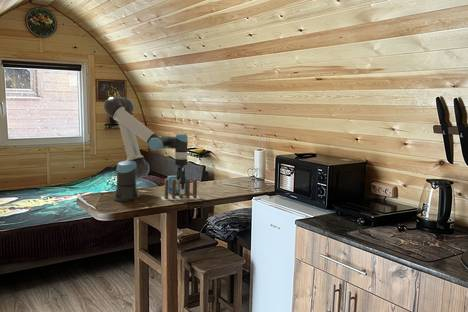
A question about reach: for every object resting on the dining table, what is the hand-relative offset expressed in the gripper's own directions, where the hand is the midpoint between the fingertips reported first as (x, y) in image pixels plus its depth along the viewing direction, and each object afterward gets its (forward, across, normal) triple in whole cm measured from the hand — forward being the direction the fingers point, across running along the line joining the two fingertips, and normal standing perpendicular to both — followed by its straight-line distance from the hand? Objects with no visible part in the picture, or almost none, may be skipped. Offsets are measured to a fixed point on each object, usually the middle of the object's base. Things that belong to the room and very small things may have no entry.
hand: (180, 192), depth 267 cm
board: (+5, 0, 0) cm, 5 cm away
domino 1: (+4, 0, +9) cm, 10 cm away
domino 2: (+4, 0, +4) cm, 6 cm away
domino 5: (+4, 0, -9) cm, 10 cm away
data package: (+5, +18, 0) cm, 19 cm away
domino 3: (+4, 0, 0) cm, 4 cm away
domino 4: (+4, 0, -4) cm, 6 cm away
